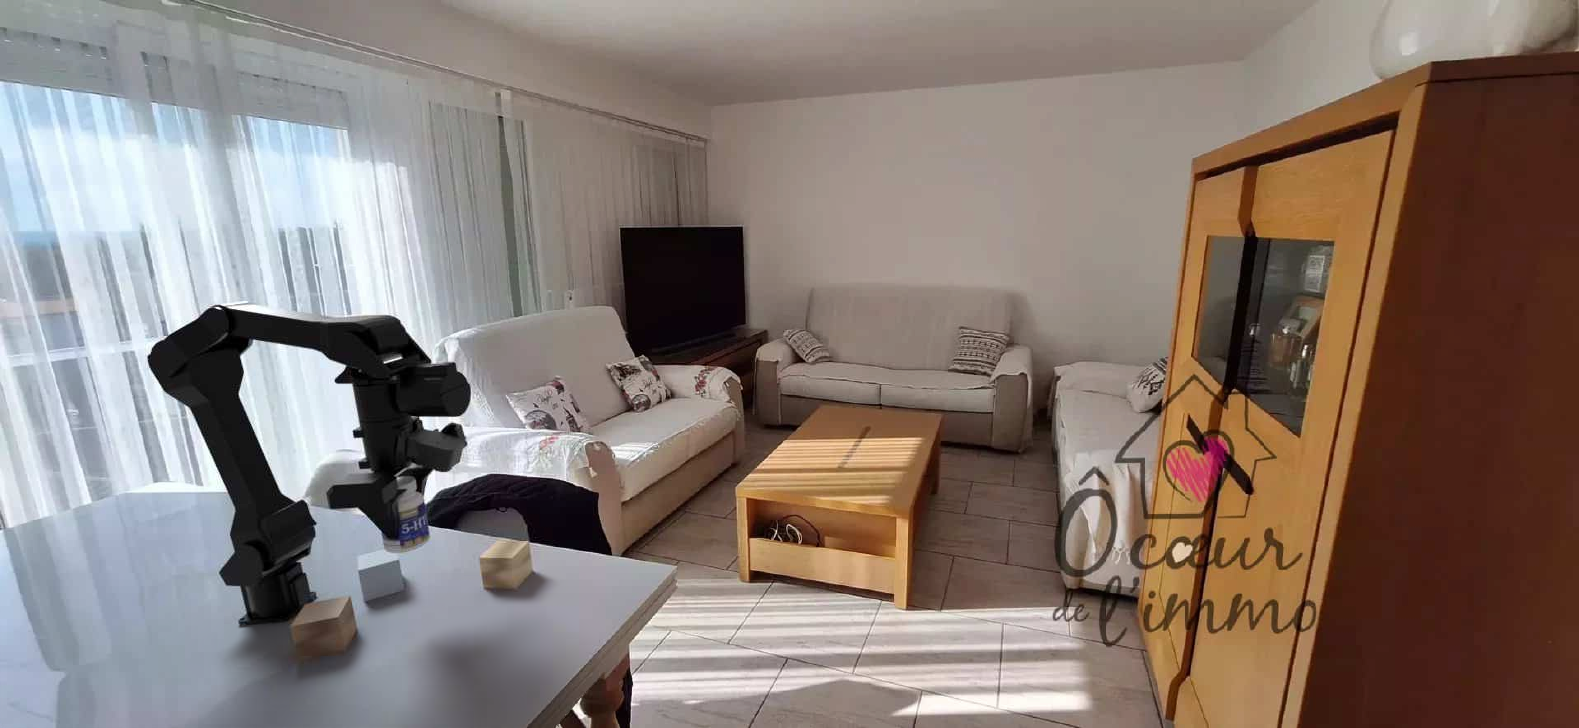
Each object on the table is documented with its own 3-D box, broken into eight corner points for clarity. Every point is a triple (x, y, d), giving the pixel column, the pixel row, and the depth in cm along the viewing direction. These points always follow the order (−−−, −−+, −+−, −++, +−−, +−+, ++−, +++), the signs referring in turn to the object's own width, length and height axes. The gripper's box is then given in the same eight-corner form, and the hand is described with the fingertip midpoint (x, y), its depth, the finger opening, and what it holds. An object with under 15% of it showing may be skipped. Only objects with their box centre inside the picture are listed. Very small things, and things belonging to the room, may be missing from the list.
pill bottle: (409, 555, 81) (398, 491, 80) (374, 552, 83) (363, 489, 81) (439, 536, 87) (429, 475, 85) (406, 533, 88) (396, 473, 86)
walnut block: (298, 662, 78) (290, 626, 77) (312, 638, 83) (305, 604, 82) (345, 652, 80) (338, 616, 79) (357, 629, 84) (350, 595, 83)
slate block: (364, 602, 91) (358, 570, 90) (363, 586, 95) (357, 556, 94) (404, 590, 93) (399, 559, 92) (402, 575, 97) (396, 545, 96)
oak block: (483, 588, 93) (479, 557, 92) (501, 570, 98) (497, 540, 97) (516, 589, 93) (511, 558, 92) (532, 571, 98) (528, 541, 96)
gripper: (415, 436, 72) (435, 561, 76) (479, 393, 90) (494, 495, 94) (312, 441, 71) (337, 567, 75) (398, 397, 90) (415, 500, 93)
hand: (405, 528), depth 84 cm, fingers closed on pill bottle, 5 cm apart
